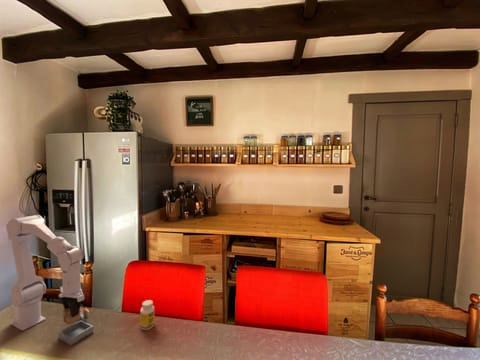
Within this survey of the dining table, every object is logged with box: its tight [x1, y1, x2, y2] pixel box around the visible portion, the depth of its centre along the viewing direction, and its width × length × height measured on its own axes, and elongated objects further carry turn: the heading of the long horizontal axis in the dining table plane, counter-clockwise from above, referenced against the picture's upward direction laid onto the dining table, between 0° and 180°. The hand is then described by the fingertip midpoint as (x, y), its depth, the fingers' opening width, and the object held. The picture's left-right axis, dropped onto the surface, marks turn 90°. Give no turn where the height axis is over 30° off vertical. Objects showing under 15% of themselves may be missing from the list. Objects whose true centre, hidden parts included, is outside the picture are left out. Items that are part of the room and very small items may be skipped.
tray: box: [58, 319, 94, 347], centre depth 89 cm, size 8×8×2 cm
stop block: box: [62, 308, 81, 326], centre depth 91 cm, size 4×4×4 cm
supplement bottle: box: [139, 299, 155, 331], centre depth 95 cm, size 5×5×10 cm
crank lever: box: [80, 307, 90, 322], centre depth 99 cm, size 12×4×6 cm, turn 55°
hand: (71, 313), depth 91 cm, fingers closed on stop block, 4 cm apart
